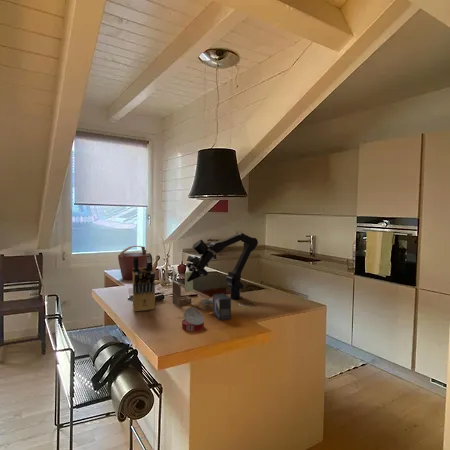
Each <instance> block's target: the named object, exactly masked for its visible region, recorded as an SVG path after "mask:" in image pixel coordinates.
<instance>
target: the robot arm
mask: <svg viewBox="0 0 450 450" xmlns="http://www.w3.org/2000/svg"><path fill="white" fill-rule="evenodd" d="M238 242H242V243H243V250H242V252H241V254H240V256H239V258H238V259H237V260H238V261H237V262H236V264H235V267H234V268H233V270H232V271H228V273H227V275H226V279H225V280H226V284H227V285H228V287H230V296H229V297H230V298H231V300H232V299H233V300H240V299H242V298H243V296H242V295H241V290H242V289H243V288H244V284H243V283H242V282H241V280H242V273H243V270H244V268H245V266H246V263H247V261H248V260H249V257H250V255H251V253H252V252H253V251H254V250H255V249H256V248H257V246H258V245H259V242H258V239H257V238H256V237H251V236H249V235H247V234H245V233H243V232H237V234H234V235H232V236H229V237H227V238H225V239H223V240H216V241H213V242H210V243H209V244H206V243H205V242H204V240H203V239H199V240H198V241H196V242H195V243H194V244H193V245H192V249H193V250H195V252H196V253H197V254H198V255H199V256H200V257H198V256H196V255H194V256H192V255H188V256H187V258H186V262H187V263H186V264H185V267H187V268H188V272H189V271H192V274H191V275H190V277H189V278H188V280H187V281H188V282H189V281H191V280H193V281H194V280H196V279H198V278H200V277H202V276H203V277H204V278H206V277H208V275H209V274H208V271H207V269H206V267H208V266H209V263H210V262H211V261H212V260H213V259H214V260H217V254H218V253H219V254H220V252H222V251H223V250H224V249H225V248H226V247H229V246H231V245H234V244H235V243H238ZM215 253H217V254H215Z"/></svg>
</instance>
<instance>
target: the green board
mask: <svg viewBox="0 0 450 450" xmlns="http://www.w3.org/2000/svg"><path fill="white" fill-rule="evenodd" d="M191 274H192V271H189V270H188V271H185V272H184V292H185V293H190V292H194V279H193V280H191V281H189V282H188V281H187V280H188V278H189V277H190V275H191Z"/></svg>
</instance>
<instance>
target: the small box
mask: <svg viewBox="0 0 450 450" xmlns="http://www.w3.org/2000/svg"><path fill="white" fill-rule="evenodd" d="M212 300H213V309H212V314H213V316H215V317H216V319H217V320H219V321H227V320H232V299H231V298H230V296H229V295H227V294H225V292H222V293H215V294H214V293H213V294H212Z"/></svg>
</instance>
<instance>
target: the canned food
mask: <svg viewBox="0 0 450 450" xmlns="http://www.w3.org/2000/svg"><path fill="white" fill-rule="evenodd" d="M183 318H184V319H183V320H182V321H181V329H182V330H183V331H186V332H192V333H193V332H199V331H202V330H203V329H204V328H205V317H204V315H203V314H202V313H201V311H199V309H197V308H196V307H194V306H193V307H192V306H189V307H187V308H186V309H185V310H184V312H183Z"/></svg>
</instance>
